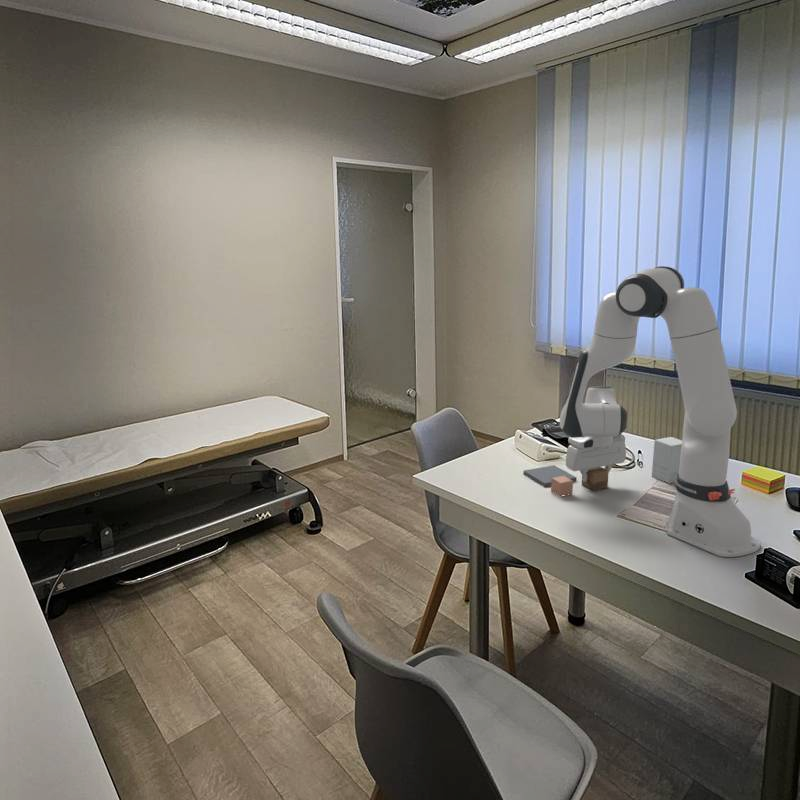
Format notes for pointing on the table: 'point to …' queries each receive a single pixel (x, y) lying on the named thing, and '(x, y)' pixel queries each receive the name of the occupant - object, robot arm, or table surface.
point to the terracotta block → (562, 485)
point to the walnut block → (597, 478)
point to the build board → (547, 474)
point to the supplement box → (666, 459)
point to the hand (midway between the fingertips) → (595, 479)
